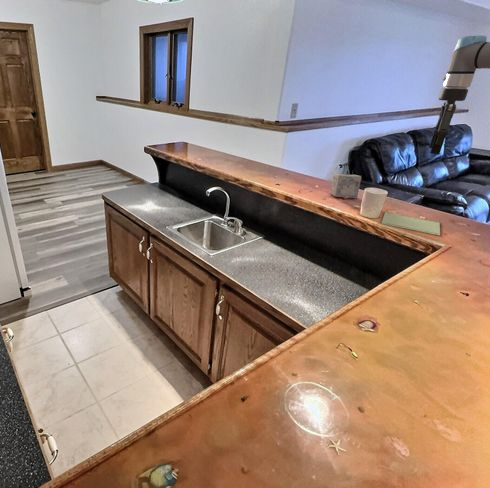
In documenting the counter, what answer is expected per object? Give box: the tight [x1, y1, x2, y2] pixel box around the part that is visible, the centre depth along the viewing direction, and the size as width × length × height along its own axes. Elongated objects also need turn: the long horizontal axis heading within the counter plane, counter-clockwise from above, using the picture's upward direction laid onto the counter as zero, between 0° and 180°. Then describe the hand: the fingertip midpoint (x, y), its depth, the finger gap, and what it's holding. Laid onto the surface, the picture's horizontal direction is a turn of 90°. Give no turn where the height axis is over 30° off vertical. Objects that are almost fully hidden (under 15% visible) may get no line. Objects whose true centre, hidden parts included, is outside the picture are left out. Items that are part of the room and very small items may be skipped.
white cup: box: [359, 187, 389, 219], centre depth 136 cm, size 8×8×10 cm
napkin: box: [380, 211, 441, 237], centre depth 131 cm, size 18×14×1 cm
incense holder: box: [329, 172, 362, 200], centre depth 156 cm, size 10×8×10 cm
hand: (433, 150), depth 129 cm, fingers open, 13 cm apart
